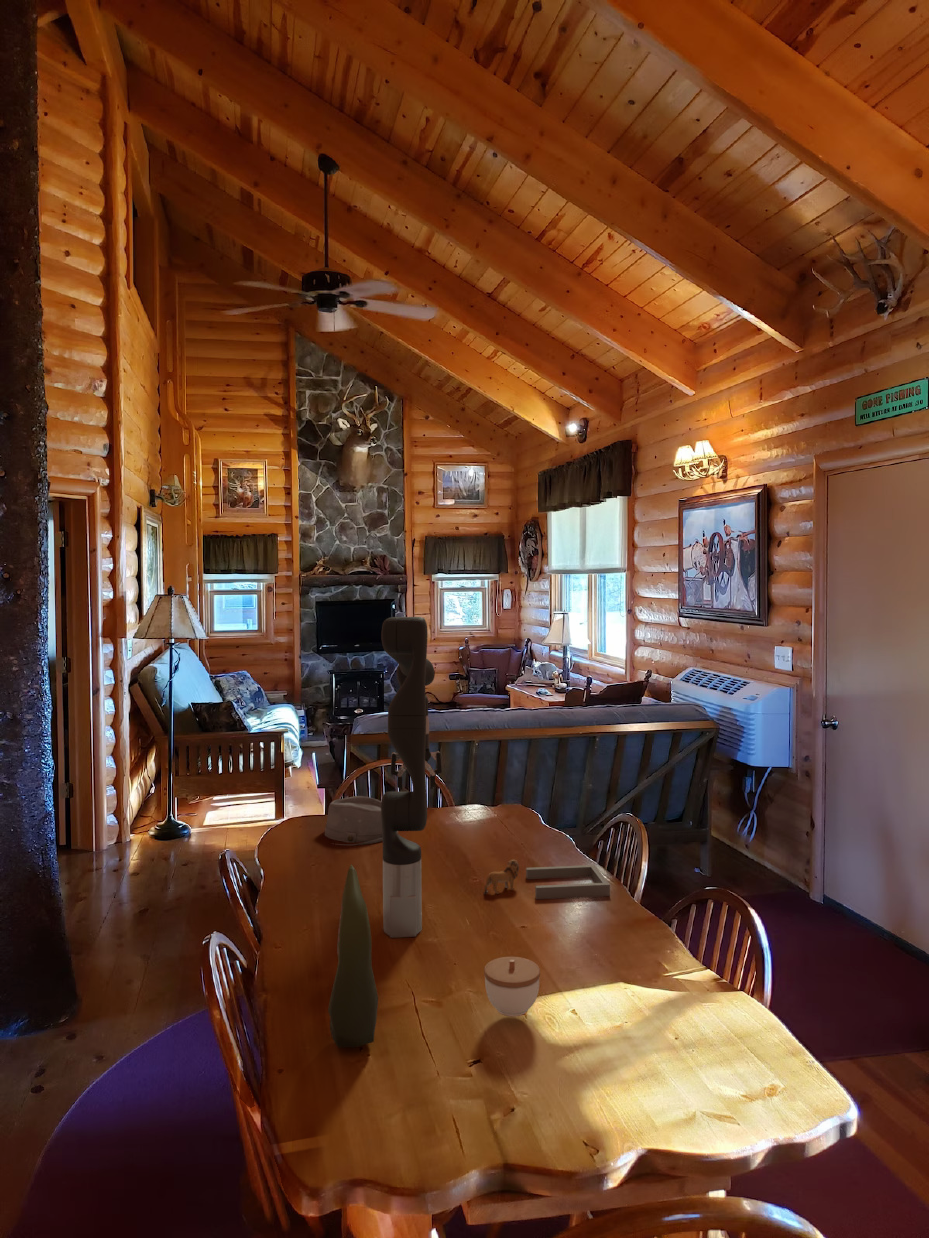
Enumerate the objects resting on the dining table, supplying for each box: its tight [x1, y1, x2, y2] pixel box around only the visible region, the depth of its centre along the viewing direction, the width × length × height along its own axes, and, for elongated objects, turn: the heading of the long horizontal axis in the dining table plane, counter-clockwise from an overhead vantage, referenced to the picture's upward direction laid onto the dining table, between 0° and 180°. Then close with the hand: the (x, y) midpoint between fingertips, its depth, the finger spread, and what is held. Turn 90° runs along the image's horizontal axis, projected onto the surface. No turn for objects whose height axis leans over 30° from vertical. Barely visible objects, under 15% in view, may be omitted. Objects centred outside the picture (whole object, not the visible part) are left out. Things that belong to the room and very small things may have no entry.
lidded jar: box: [483, 956, 541, 1018], centre depth 155 cm, size 11×11×9 cm
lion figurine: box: [483, 859, 520, 895], centre depth 215 cm, size 12×4×7 cm, turn 129°
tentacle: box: [327, 864, 379, 1048], centre depth 145 cm, size 9×12×30 cm
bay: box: [525, 864, 611, 900], centre depth 217 cm, size 15×20×3 cm
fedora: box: [324, 795, 399, 846], centre depth 261 cm, size 24×27×12 cm
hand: (416, 789), depth 227 cm, fingers open, 8 cm apart
